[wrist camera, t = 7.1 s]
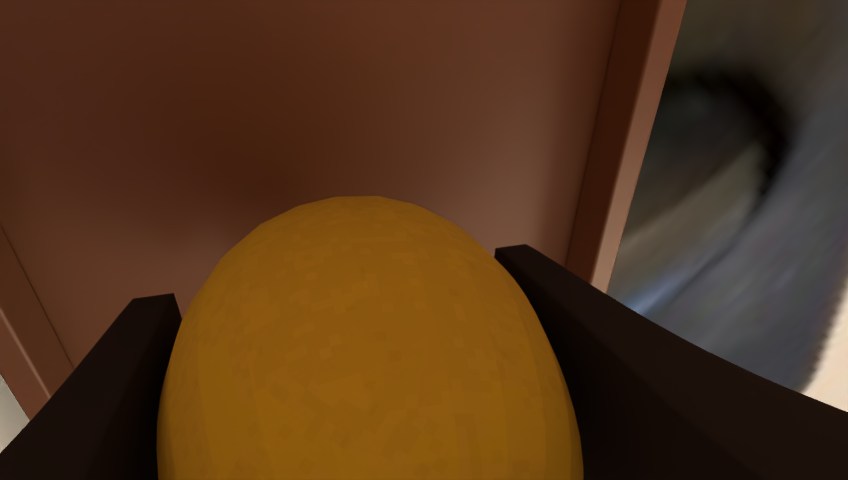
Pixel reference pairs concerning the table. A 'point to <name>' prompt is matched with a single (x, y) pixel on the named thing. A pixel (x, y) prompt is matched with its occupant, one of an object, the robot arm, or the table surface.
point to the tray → (299, 139)
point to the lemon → (363, 358)
